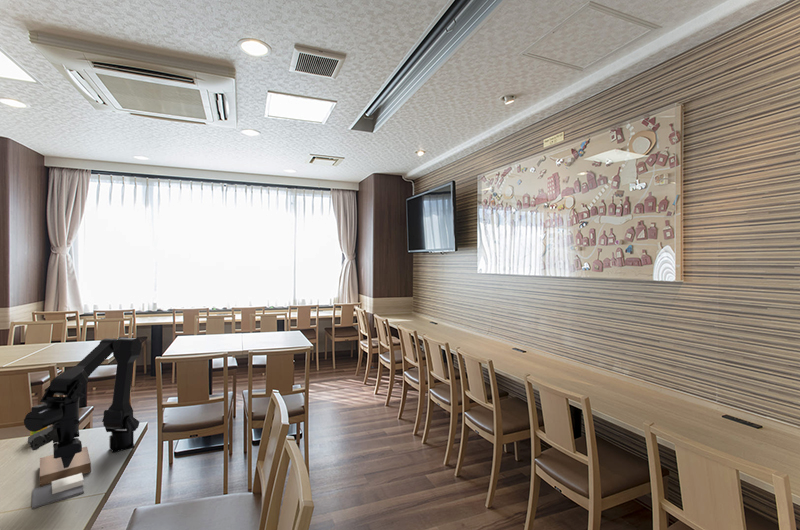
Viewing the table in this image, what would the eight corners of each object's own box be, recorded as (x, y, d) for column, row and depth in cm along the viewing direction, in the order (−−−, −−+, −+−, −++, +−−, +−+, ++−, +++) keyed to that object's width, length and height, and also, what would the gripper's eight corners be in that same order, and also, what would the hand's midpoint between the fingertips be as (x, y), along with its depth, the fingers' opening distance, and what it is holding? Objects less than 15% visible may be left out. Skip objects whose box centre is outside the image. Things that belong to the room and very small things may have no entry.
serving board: (86, 454, 134) (87, 446, 134) (90, 471, 123) (90, 462, 123) (39, 467, 125) (39, 458, 125) (39, 486, 115) (39, 476, 115)
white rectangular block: (83, 479, 116) (83, 484, 116) (81, 472, 119) (81, 477, 119) (52, 489, 111) (52, 494, 111) (51, 481, 114) (51, 486, 114)
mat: (81, 476, 121) (81, 475, 121) (83, 492, 113) (83, 491, 113) (32, 490, 113) (32, 488, 113) (31, 509, 105) (31, 507, 105)
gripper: (30, 414, 118) (30, 464, 119) (29, 435, 105) (29, 491, 105) (77, 405, 126) (77, 452, 126) (82, 424, 112) (81, 476, 113)
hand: (66, 467), depth 117 cm, fingers closed
